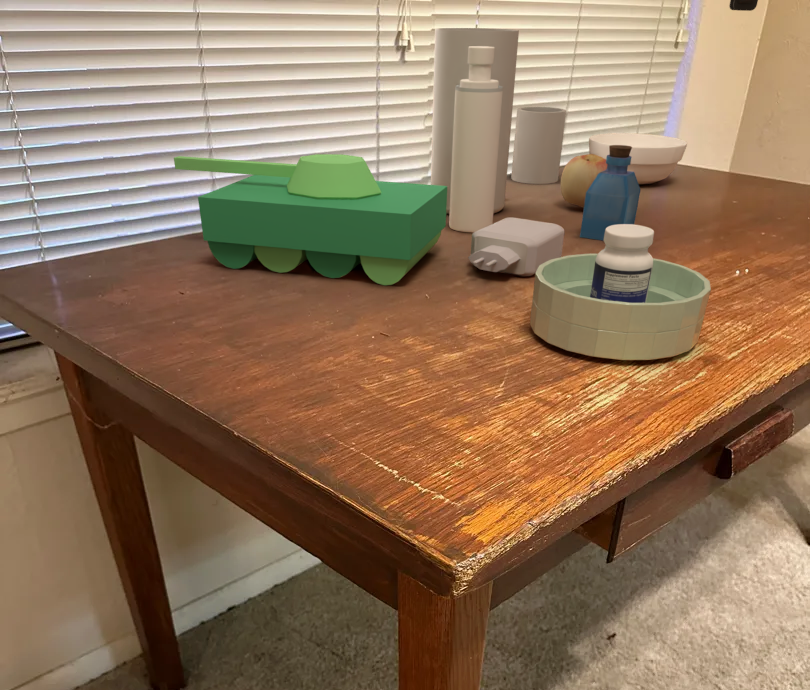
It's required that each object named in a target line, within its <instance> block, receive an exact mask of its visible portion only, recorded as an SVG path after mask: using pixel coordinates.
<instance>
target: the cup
mask: <svg viewBox="0 0 810 690" xmlns="http://www.w3.org/2000/svg"><path fill="white" fill-rule="evenodd" d="M566 116H567V109H565V108H560V107H551V106H523V107H517V108H516V117H515V129H514V140H513V150H512V151H513V153H512V163H511V174H510V175H511V176H510V180H512V181H513V182H517V183H521V184H531V185H549V184H555V183H557V182H558V181H559V173H560V167H561V158H562V150H563V140H564V134H565V125H566Z"/></svg>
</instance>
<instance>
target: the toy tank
mask: <svg viewBox="0 0 810 690" xmlns="http://www.w3.org/2000/svg"><path fill="white" fill-rule="evenodd" d="M173 164H174V169H175V170H181V171H196V172H209V173H223V174H235V175H236V174H237V175H250V176H247V177H245V178H243V179H240V180H238V181H235V182H232V183H230V184H228V185H224V186H222V187H220V188H217V189H214V190H211V191H209V192H207V193H205V194H202V195H199V196H198V197H197V201H198V208H199V209H198V210H199V217H200V223H201V224H200V225H201V232H202V238H203V239H202V240H203V241H204V242H206V241H207V244H208V248H209V250H210V252H211V254H212V256H213V257H214V258H215V260H217V261H218V262H219V263H220V264H221V265H223V266H225V267H226V268H229V269H241V268H243V267H245V266H247V265H249V264H251V263H252V262H254V261H255V260H257V259H258V261H259V262H260V263H261V264H262V265H263V266H264V267H265V268H267V269H268V270H270V271H272V272H276V273H281V274H282V273H288V272H291V271H292V270H294V269H296V268H297V267H299V266H301V264H303V263H304V262H306V261H307V260H308V262H309V264H310V266H311V267H312V269H314V270H315V271H316V272H317V273H318V274H320V275H322V276H323V277H326V278H329V279H338V278H339V279H340V278H342V277H344V276H347V275H348V274H349V273H350V272H352V271H353V270H354V269H355V268H357V267H358V266H359V265H360V264H361V266H362V269H363V271H364V273H365V274H366V275H367V276H368V278H369V279H370V280H372V281H373V282H374V283H376V284H379V285H381V286H392V285H394V284H396V283H398V282H400V281H401V279H402V278H404V276H405V275H406V274H407V273H409V271H411V269H413V267H414V266H416V265H417V264H418V262H419V261H420V260H421V259H423V257H424V256H425V255H426V254H427V253H428V252H429V251H430V250H432V248H433V247H434V246H435V245H436V244H437V243H438V242H439V239H440V237H441V234H442V231H443V229H445V228H446V225H447V213H446V207H447V186H440V185H431V184H427V183H425V184H424V183H412V182H411V183H410V182H399V181H397V182H396V181H386V180H385V181H382V180H376V179H375V177H374V175H373V173H372V172H371V169H370V167H369V166H368V163H367V161H366V160H365V159H364V157H362V156H357V155H350V154H340V153H339V154H337V153H336V154H335V153H334V154H331V153H328V154H327V153H325V154H324V153H315V154H309V155H303V156H300V157H299V159H298V161H297V162H296V163H285V162H284V163H282V162H269V161H255V160H240V159H225V158H212V157H199V156H197V157H196V156H183V155H178V156H174V157H173Z"/></svg>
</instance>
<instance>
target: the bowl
mask: <svg viewBox="0 0 810 690" xmlns="http://www.w3.org/2000/svg"><path fill="white" fill-rule="evenodd" d="M611 145H626V146H631V147H632V149H631V152H630V155H629V156H631V163H630V165H628V169H627V171H631V172H634V173H635V176H636V179H637V181H638V184H639V185H648V184H649V185H650V184H655V183H657V182H659V181H663V180H666V179H667V178H668V177H669V176H670V175H671V174H672V173H673V172H674V171H675V169H676V167H677V165H678V163H679V162H681V161H682V160H683V156H684V154H685V152H686V149H687V147H688V142H687V141H686V140H684V139H682V138H677V137H673V136H666V135H660V134H649V133H634V132H632V133H631V132H614V133H612V132H610V133H599V134H594V135H591V136H589V138H588V150H589V151H588V154H594V155H598V156H600V157H602V158H604V159H606V158H607V155H610V152H609V146H611Z"/></svg>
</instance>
